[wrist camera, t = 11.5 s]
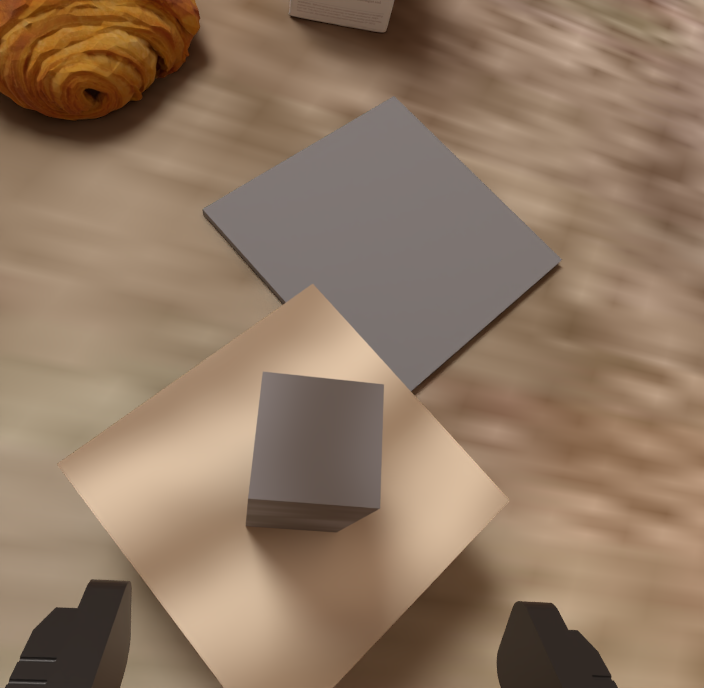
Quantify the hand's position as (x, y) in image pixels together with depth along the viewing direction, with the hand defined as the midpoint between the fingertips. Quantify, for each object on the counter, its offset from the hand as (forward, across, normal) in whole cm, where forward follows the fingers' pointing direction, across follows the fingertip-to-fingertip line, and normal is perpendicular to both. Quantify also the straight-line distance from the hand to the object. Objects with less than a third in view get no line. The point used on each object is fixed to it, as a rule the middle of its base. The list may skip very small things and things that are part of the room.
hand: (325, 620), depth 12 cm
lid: (+12, 0, +5) cm, 13 cm away
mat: (+27, -5, -3) cm, 27 cm away
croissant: (+36, +16, -11) cm, 41 cm away
